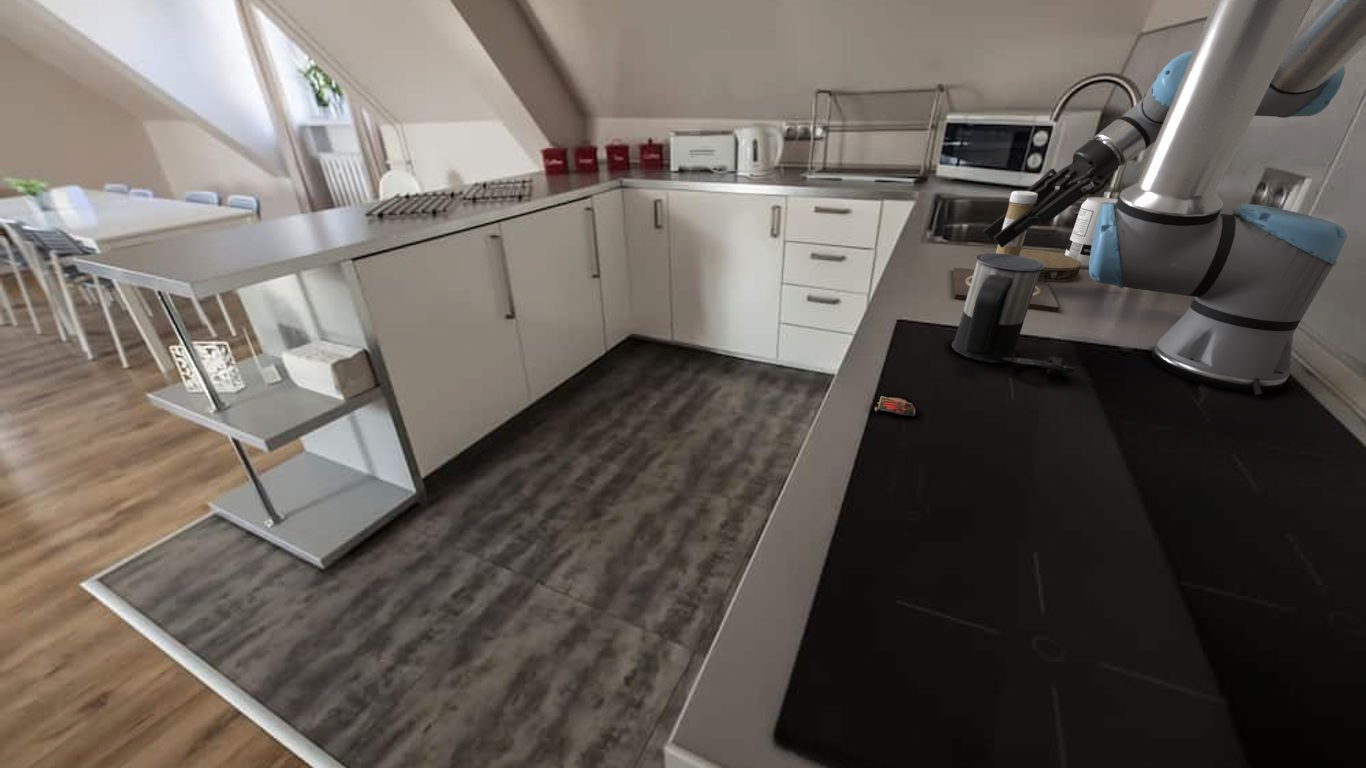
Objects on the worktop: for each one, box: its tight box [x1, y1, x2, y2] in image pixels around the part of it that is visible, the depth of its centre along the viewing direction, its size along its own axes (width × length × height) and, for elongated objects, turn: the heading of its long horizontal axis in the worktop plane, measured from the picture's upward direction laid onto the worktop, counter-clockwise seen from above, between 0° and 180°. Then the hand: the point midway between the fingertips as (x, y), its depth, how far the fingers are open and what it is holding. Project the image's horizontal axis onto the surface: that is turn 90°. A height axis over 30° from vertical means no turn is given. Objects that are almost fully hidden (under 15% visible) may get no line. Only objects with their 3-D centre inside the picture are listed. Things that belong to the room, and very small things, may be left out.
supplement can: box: [1064, 196, 1118, 269], centre depth 131 cm, size 8×8×15 cm
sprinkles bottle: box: [995, 190, 1038, 256], centre depth 112 cm, size 5×5×13 cm
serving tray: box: [952, 267, 1060, 313], centre depth 116 cm, size 20×18×1 cm
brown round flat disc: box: [1019, 248, 1081, 283], centre depth 128 cm, size 16×16×3 cm
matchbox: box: [874, 395, 916, 417], centre depth 73 cm, size 5×5×1 cm
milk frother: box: [951, 252, 1076, 376], centre depth 83 cm, size 14×16×15 cm
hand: (992, 238), depth 113 cm, fingers closed on sprinkles bottle, 4 cm apart
